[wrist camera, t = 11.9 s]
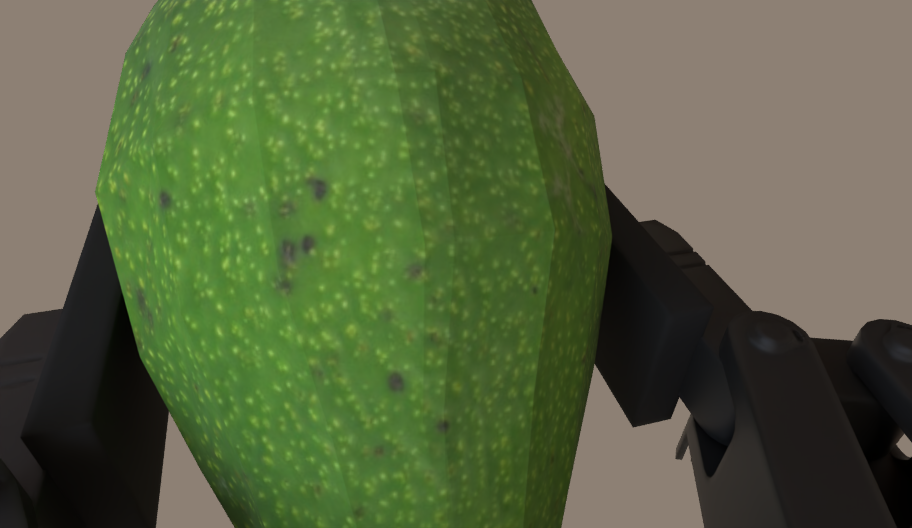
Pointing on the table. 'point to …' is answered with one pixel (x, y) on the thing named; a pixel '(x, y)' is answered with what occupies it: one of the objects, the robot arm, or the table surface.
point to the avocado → (362, 255)
